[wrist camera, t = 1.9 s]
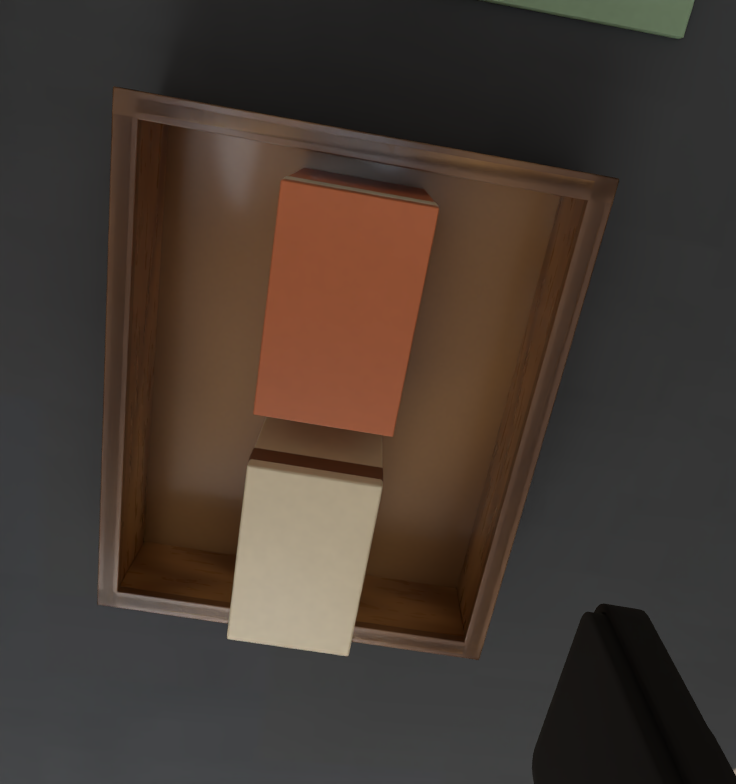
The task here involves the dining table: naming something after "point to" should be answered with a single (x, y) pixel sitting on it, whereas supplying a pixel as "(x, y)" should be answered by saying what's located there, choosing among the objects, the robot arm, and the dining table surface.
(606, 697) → the robot arm
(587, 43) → the dining table surface
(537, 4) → the mat
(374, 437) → the block
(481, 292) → the wooden tray
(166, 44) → the dining table surface
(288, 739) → the dining table surface
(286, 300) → the block
